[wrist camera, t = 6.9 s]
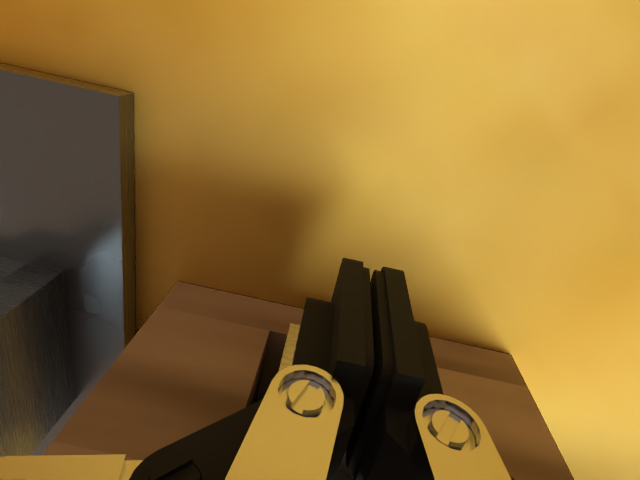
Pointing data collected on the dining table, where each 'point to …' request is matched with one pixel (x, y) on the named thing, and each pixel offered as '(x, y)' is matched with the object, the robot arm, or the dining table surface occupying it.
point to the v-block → (61, 248)
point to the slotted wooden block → (255, 378)
